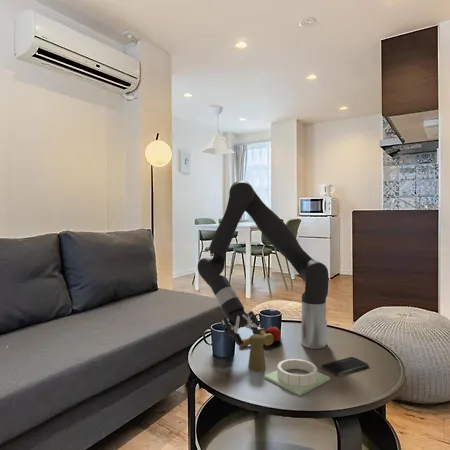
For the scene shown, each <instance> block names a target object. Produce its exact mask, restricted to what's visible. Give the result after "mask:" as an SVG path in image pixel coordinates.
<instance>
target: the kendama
mask: <svg viewBox="0 0 450 450" xmlns="http://www.w3.org/2000/svg"><path fill="white" fill-rule="evenodd" d="M269 327H270V328H269ZM269 327H267V329H265V328H263V327H260V328H258V330H259V332H260V334H261V335H262V336H263V337H264V340H265V342H264V345H265V346H271V345H272V344H274V342H279V340H280V338H281V337H282V335H281V334H282V333H281V331H280V329H279V328H278V327H276V326H274V327H272V326H269ZM249 338H250V337H248V338H241V339H242V341H243V344H242V345H241V346H240V348H245V347H247V346H251V345H250V343H249Z"/></svg>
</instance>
